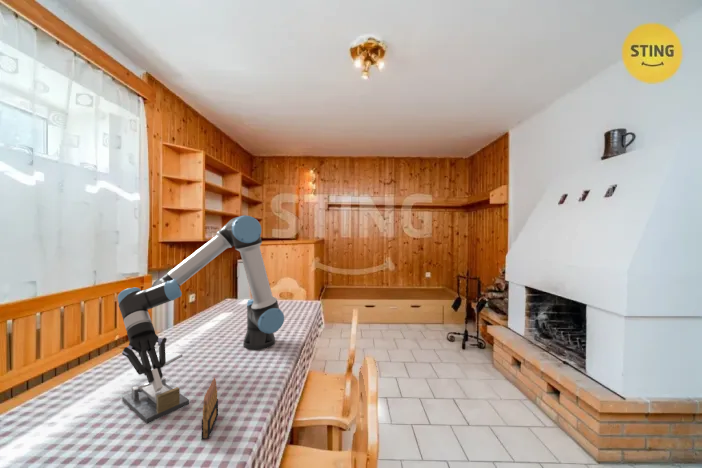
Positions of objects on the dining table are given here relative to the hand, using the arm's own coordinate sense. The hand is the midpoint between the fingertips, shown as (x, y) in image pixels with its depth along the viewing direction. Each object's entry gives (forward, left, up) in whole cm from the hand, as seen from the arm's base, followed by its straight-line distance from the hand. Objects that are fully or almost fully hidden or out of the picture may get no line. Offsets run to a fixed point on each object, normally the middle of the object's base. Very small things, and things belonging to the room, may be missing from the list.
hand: (159, 389), depth 93 cm
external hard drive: (+15, -37, -7) cm, 40 cm away
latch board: (+2, -3, -6) cm, 7 cm away
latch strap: (+6, -7, -2) cm, 9 cm away
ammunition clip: (-19, +12, -6) cm, 24 cm away
